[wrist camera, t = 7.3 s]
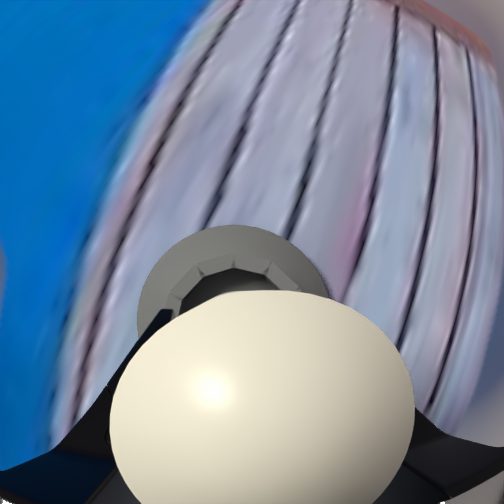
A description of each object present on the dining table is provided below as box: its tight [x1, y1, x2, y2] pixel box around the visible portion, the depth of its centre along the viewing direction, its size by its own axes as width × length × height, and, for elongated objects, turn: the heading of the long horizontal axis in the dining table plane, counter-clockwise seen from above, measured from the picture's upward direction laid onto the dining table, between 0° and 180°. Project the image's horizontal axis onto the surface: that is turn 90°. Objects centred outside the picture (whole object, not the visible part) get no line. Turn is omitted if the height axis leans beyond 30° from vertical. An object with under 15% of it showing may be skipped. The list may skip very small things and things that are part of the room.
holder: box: [137, 225, 329, 338], centre depth 18 cm, size 12×12×3 cm
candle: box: [110, 290, 415, 504], centre depth 10 cm, size 4×4×13 cm
